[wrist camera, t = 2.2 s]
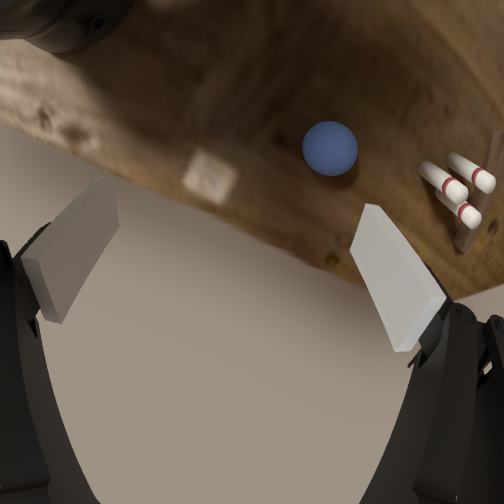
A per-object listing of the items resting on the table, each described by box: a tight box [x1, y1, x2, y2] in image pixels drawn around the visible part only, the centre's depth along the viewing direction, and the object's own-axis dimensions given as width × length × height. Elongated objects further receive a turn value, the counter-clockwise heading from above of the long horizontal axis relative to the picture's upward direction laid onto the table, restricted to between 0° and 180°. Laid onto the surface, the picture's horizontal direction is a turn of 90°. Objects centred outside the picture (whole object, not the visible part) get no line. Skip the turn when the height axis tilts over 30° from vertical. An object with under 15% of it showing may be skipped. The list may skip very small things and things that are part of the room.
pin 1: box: [446, 152, 496, 194], centre depth 29 cm, size 2×2×8 cm
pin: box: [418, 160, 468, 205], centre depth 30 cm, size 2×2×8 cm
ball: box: [302, 121, 358, 176], centre depth 29 cm, size 6×6×6 cm
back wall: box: [453, 128, 504, 253], centre depth 33 cm, size 2×20×3 cm, turn 172°
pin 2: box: [435, 188, 481, 229], centre depth 32 cm, size 2×2×8 cm
